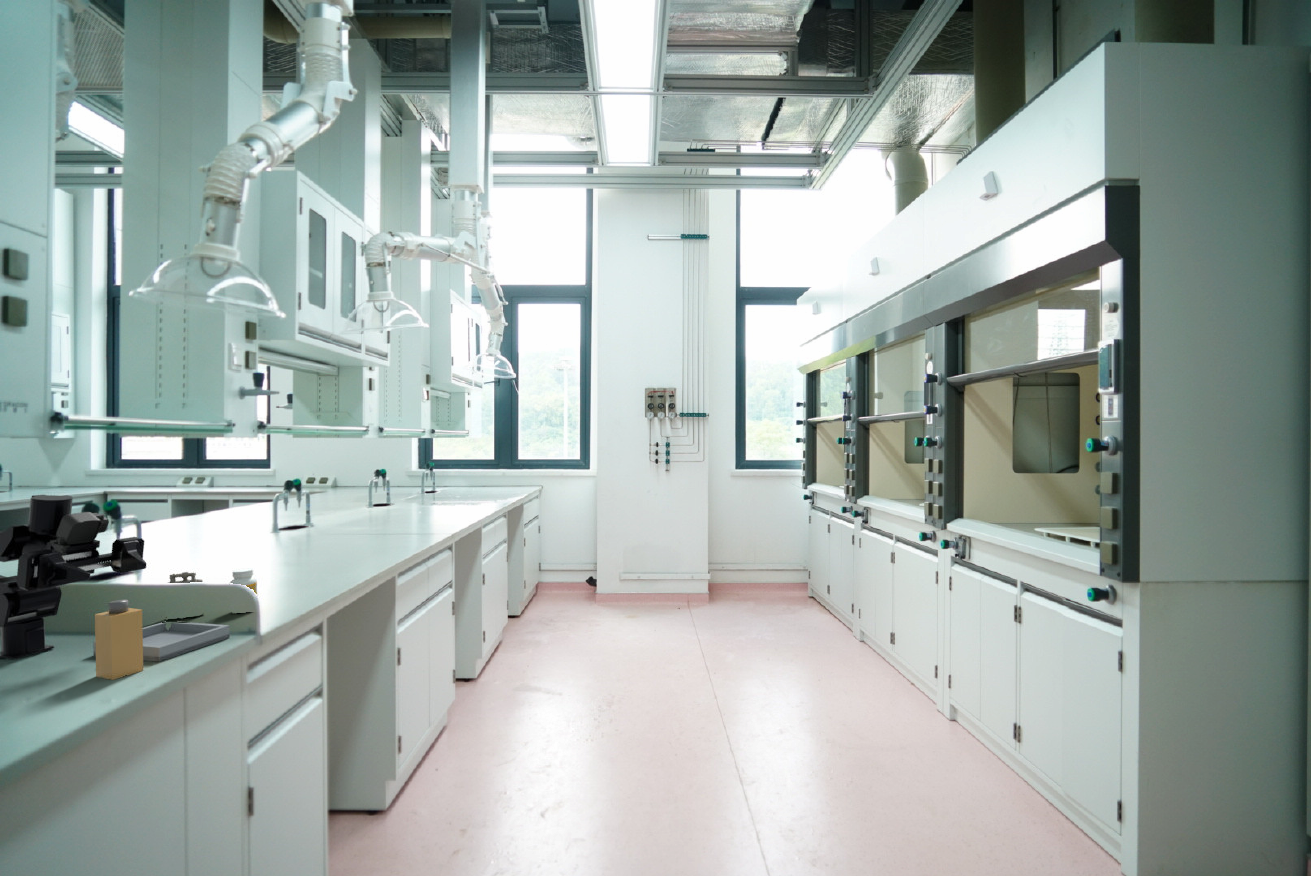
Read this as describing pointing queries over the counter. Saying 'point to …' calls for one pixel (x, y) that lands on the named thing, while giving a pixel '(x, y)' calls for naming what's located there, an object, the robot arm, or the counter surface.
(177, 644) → the tray
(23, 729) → the counter surface
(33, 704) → the counter surface
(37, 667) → the counter surface
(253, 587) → the supplement bottle
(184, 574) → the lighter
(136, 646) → the reagent bottle
